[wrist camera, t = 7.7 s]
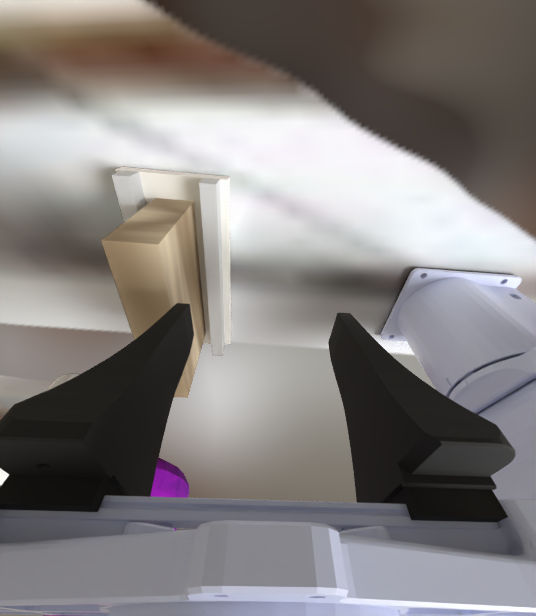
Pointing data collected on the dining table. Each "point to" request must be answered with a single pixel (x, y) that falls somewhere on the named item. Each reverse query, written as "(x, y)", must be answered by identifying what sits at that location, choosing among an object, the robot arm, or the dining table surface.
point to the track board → (210, 233)
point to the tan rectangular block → (159, 270)
